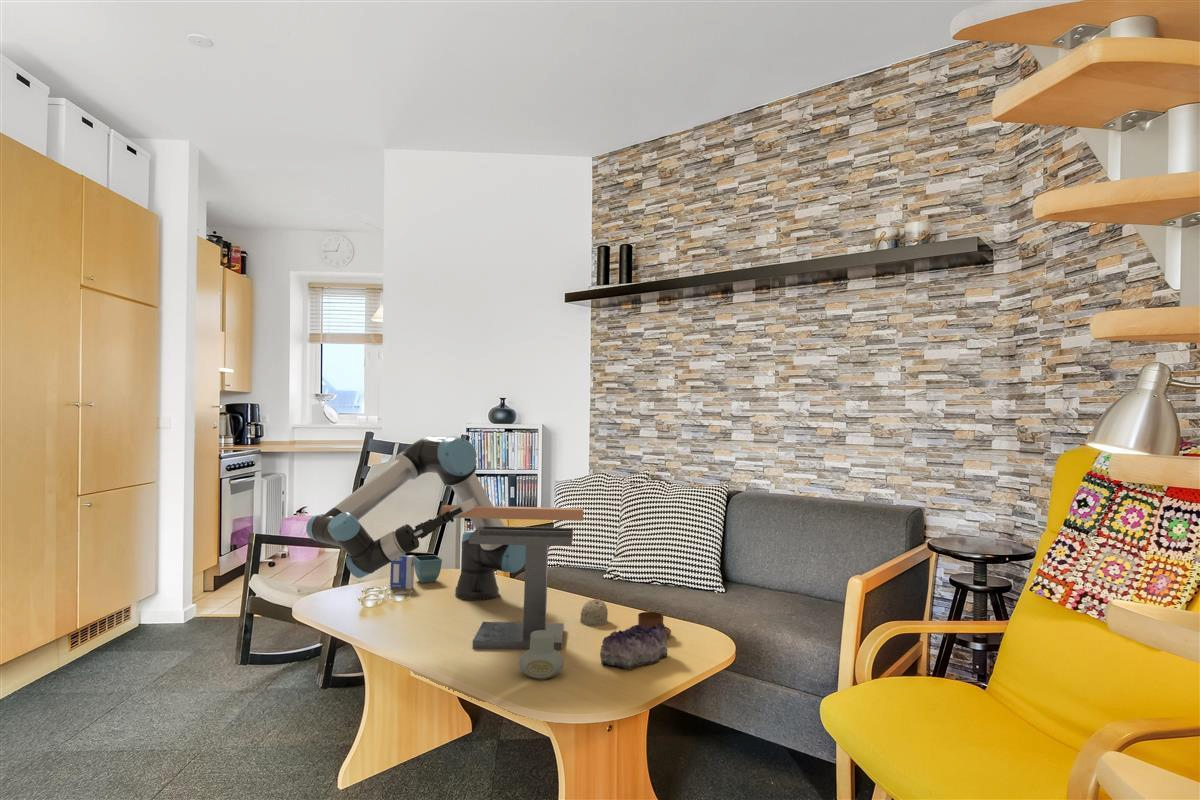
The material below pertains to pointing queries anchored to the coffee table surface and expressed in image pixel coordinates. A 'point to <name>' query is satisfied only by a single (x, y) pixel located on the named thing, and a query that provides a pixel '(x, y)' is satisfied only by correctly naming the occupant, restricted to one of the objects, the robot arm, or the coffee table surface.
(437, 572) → the flower pot
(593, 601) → the beige rough dome
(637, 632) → the geode
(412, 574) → the walkman
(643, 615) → the cup and saucer
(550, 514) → the block
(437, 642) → the coffee table surface
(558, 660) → the air freshener
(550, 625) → the stand
